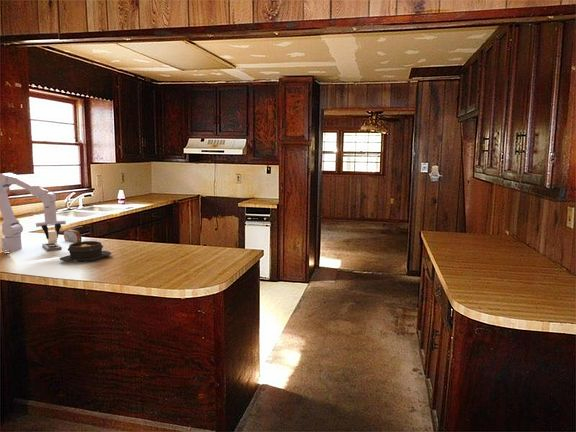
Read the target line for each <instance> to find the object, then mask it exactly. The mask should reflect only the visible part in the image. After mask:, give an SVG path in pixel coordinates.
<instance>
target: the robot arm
mask: <svg viewBox="0 0 576 432" xmlns="http://www.w3.org/2000/svg"><path fill="white" fill-rule="evenodd" d="M12 185H16V186H18V187H21V188H23V189H25V190H26V191H28V192H29V194H30V195H32V196H34V197H35V198H37V199H38V200H41V202H42V204H43V213H44V221H43V222H42V221H41V222H36V223H35V226H36V228H39V227H41V229H42V230H43V232H44V235H45V237H46V239H49V236H48V231H49V228H48V227H49V226H54V230H55V231H57V239H58V238H59V233H60V230H61V229H62V225H66V224H67V223H66V220H58V219H57V210H56V209H57V207H56V201H57V199H58V197H57V194H56V193H54V191H49V190H48V189H44V188H43V187H42V186H41V185H40V184H38V185H37V184H34V185H33V184H31V183H30V182H28V181H27V180H24V179H23V178H22V177H20V176H18V175H17V174H15V173H13V172H5V173H0V214H1V216H2V219H3V220H2V221H3V222H2V223H1V228H2V229H1V233H2V237H1V238H0V239H1V240H0V241H1V242H0V243H1V251H3V252H10V251H19V250H22V249H23V247H22V244H23V243H22V236H21V235H22V232H23V230H24V228H23V226H22V224H21V223H20V221H19V219H17V218H16V216H15V215H14V211H13V208H12V205H11V202H10V199H9V196H8V193H7V190H8V189H9V188H10V187H11V186H12ZM5 250H7V251H5ZM3 252H2V253H3Z"/></svg>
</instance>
